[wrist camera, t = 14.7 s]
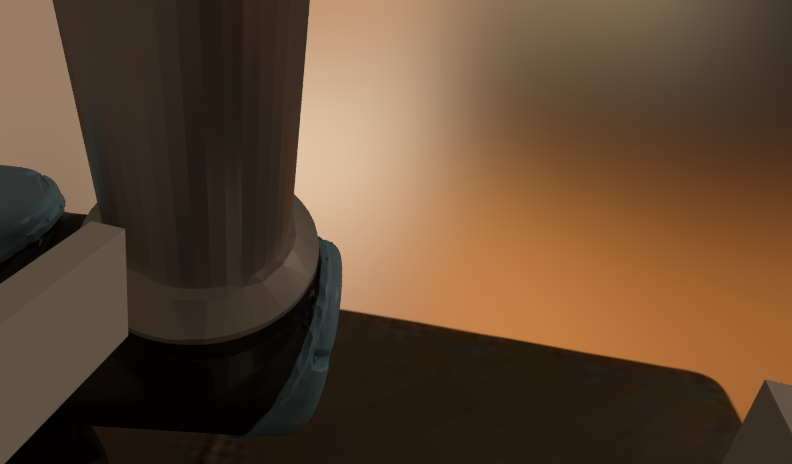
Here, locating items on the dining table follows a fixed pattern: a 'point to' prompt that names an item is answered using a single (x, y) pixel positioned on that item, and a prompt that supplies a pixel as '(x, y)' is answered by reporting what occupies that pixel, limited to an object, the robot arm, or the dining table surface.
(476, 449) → the dining table surface
